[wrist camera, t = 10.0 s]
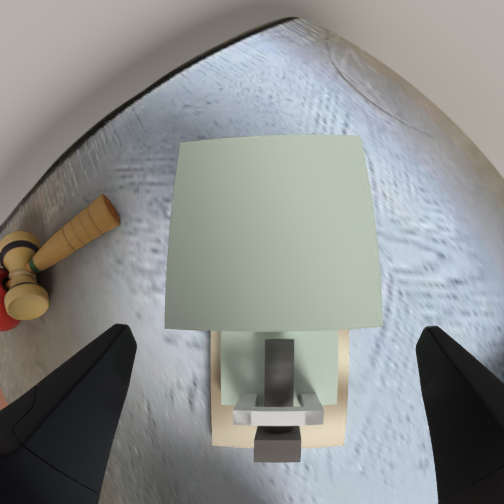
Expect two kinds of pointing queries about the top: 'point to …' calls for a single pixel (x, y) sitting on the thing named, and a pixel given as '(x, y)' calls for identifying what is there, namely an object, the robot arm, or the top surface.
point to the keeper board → (306, 431)
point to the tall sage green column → (274, 261)
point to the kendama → (44, 260)
